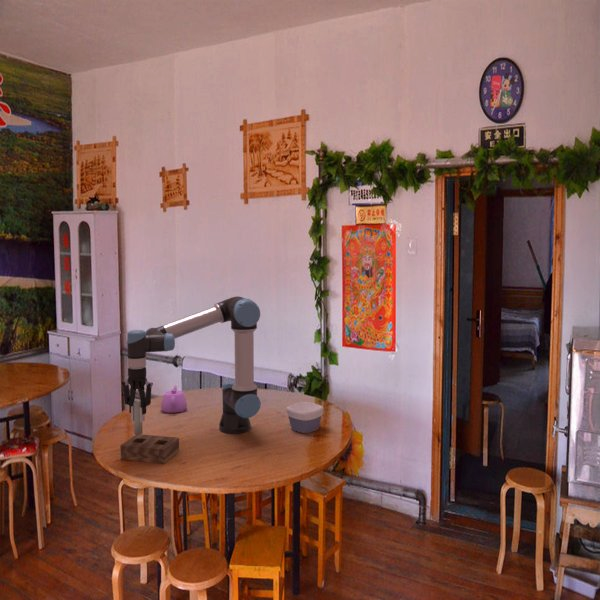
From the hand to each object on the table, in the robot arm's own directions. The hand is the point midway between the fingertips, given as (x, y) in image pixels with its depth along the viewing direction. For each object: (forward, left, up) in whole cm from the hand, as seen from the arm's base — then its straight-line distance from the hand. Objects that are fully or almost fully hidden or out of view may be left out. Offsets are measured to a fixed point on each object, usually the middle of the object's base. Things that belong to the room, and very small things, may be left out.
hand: (138, 420), depth 253 cm
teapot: (+12, -60, -15) cm, 63 cm away
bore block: (-5, 0, -15) cm, 16 cm away
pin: (0, 0, -5) cm, 5 cm away
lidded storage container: (-62, -47, -15) cm, 80 cm away
